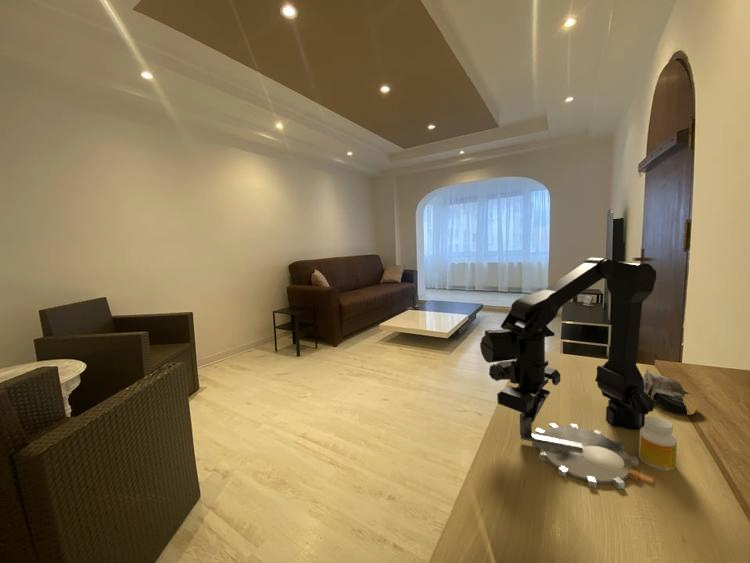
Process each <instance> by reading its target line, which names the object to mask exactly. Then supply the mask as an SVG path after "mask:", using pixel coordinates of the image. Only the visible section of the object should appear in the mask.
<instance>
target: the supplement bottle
mask: <svg viewBox="0 0 750 563" xmlns="http://www.w3.org/2000/svg"><path fill="white" fill-rule="evenodd" d="M673 427H674V426H673V424H672V422H670V421H669V420H667V419H666V418H662V417H659V416H650V415H649V416H645V426H644V427H641V428H640V429H639V445H638V458H639V461H641V462H642V463H643V464H644V465H646V466H648V467H650V468H652V469H655V470H658V471H662V472H672V471H675V469H676V464H677V463H676V462H677V461H676V459H677V449H678V448H677V447H678V446H677V445H678V439H677V437H676V436H675V434H673V430H674V429H673Z"/></svg>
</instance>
